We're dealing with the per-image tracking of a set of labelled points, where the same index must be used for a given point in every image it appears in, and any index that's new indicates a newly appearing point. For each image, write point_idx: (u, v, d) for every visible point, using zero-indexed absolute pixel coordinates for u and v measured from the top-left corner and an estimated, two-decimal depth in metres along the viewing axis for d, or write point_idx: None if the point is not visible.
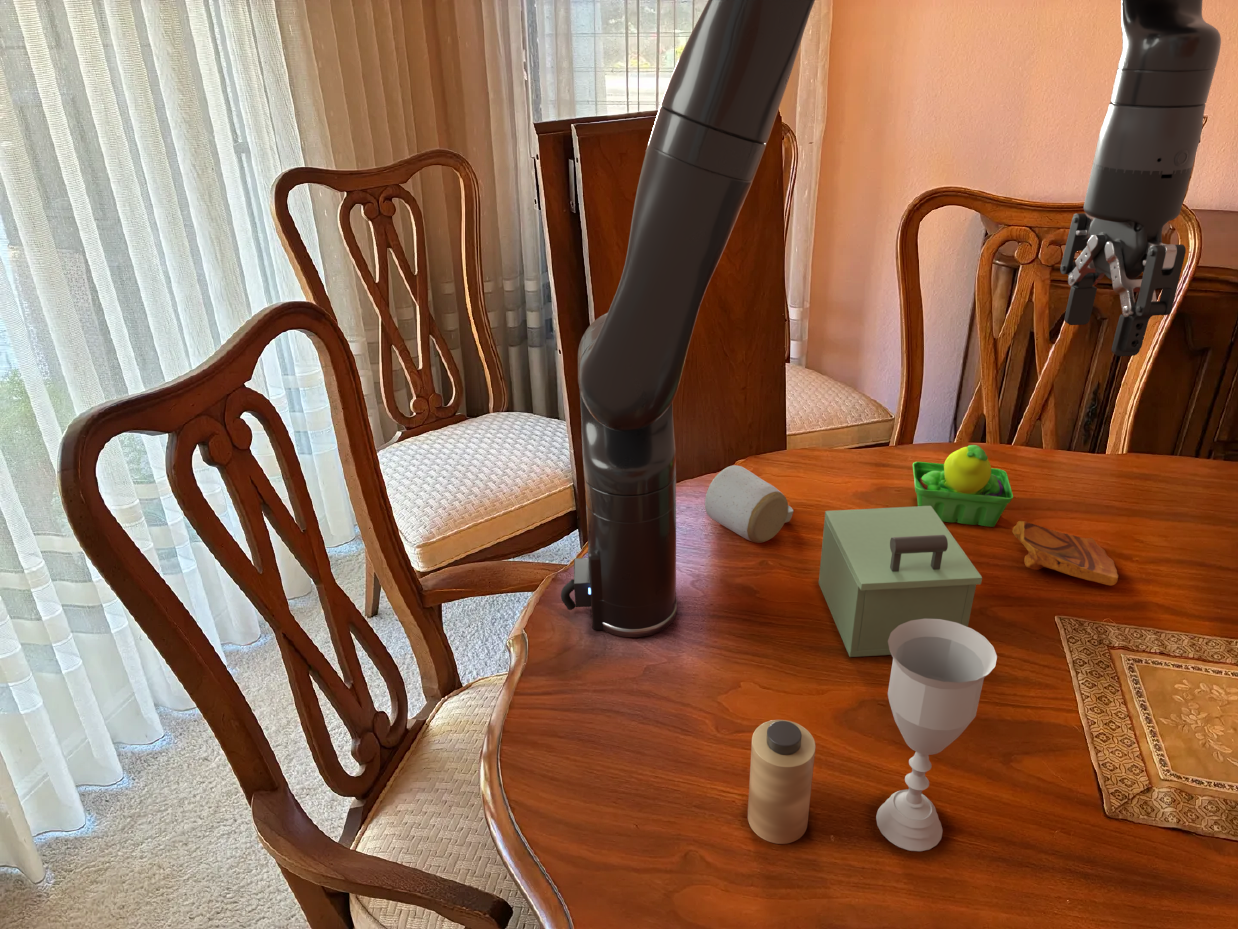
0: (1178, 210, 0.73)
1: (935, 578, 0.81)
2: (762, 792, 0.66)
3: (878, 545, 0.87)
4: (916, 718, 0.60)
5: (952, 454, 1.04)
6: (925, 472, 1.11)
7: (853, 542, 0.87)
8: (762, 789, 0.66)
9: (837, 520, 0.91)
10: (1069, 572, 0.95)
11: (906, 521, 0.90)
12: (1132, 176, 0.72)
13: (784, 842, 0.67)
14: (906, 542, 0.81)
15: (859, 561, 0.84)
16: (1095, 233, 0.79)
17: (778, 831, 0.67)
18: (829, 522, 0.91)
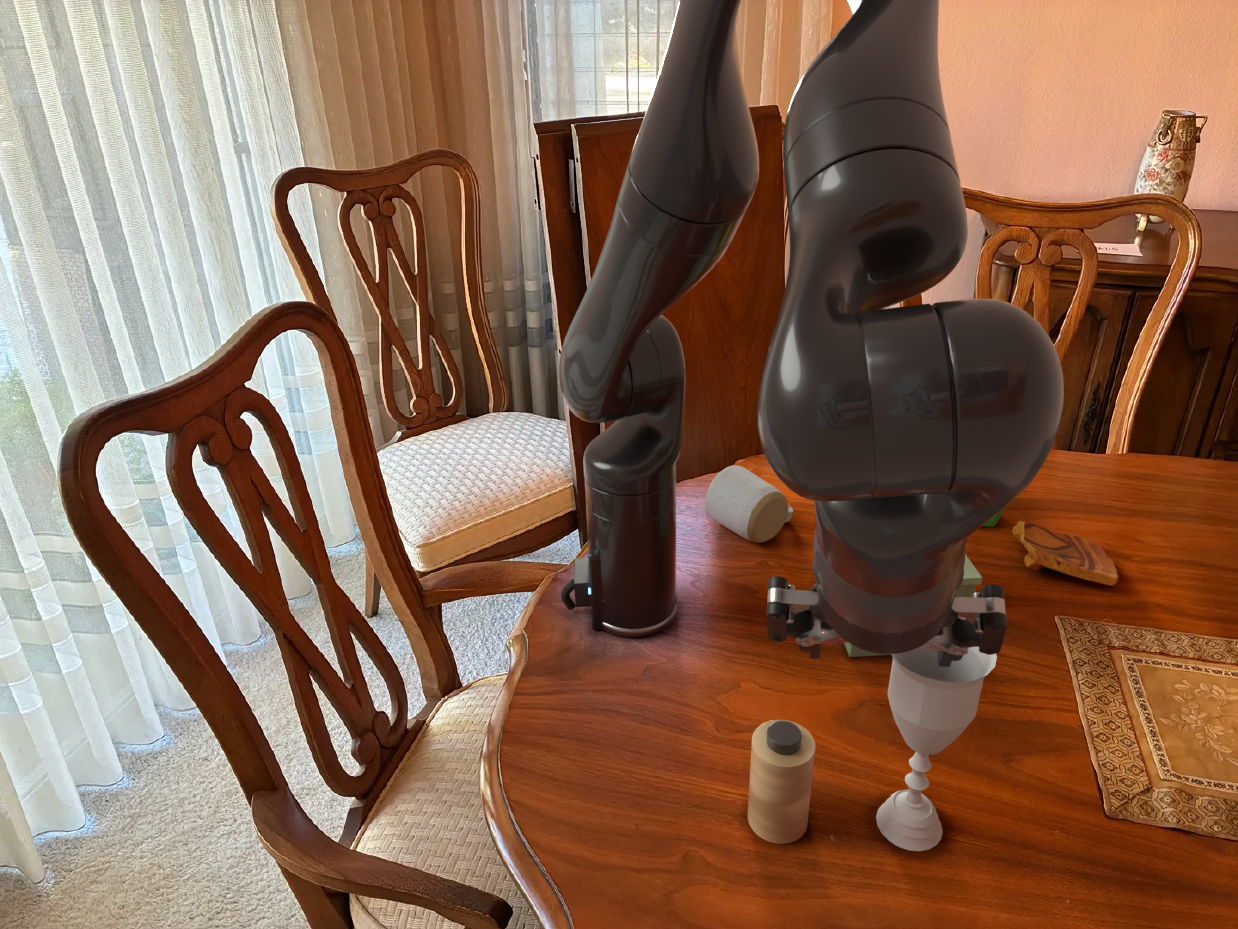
0: (830, 624, 0.49)
1: None
2: (762, 792, 0.66)
3: None
4: (916, 718, 0.60)
5: None
6: None
7: None
8: (762, 789, 0.66)
9: None
10: (1069, 572, 0.95)
11: None
12: None
13: (784, 842, 0.67)
14: None
15: None
16: None
17: (778, 831, 0.67)
18: None
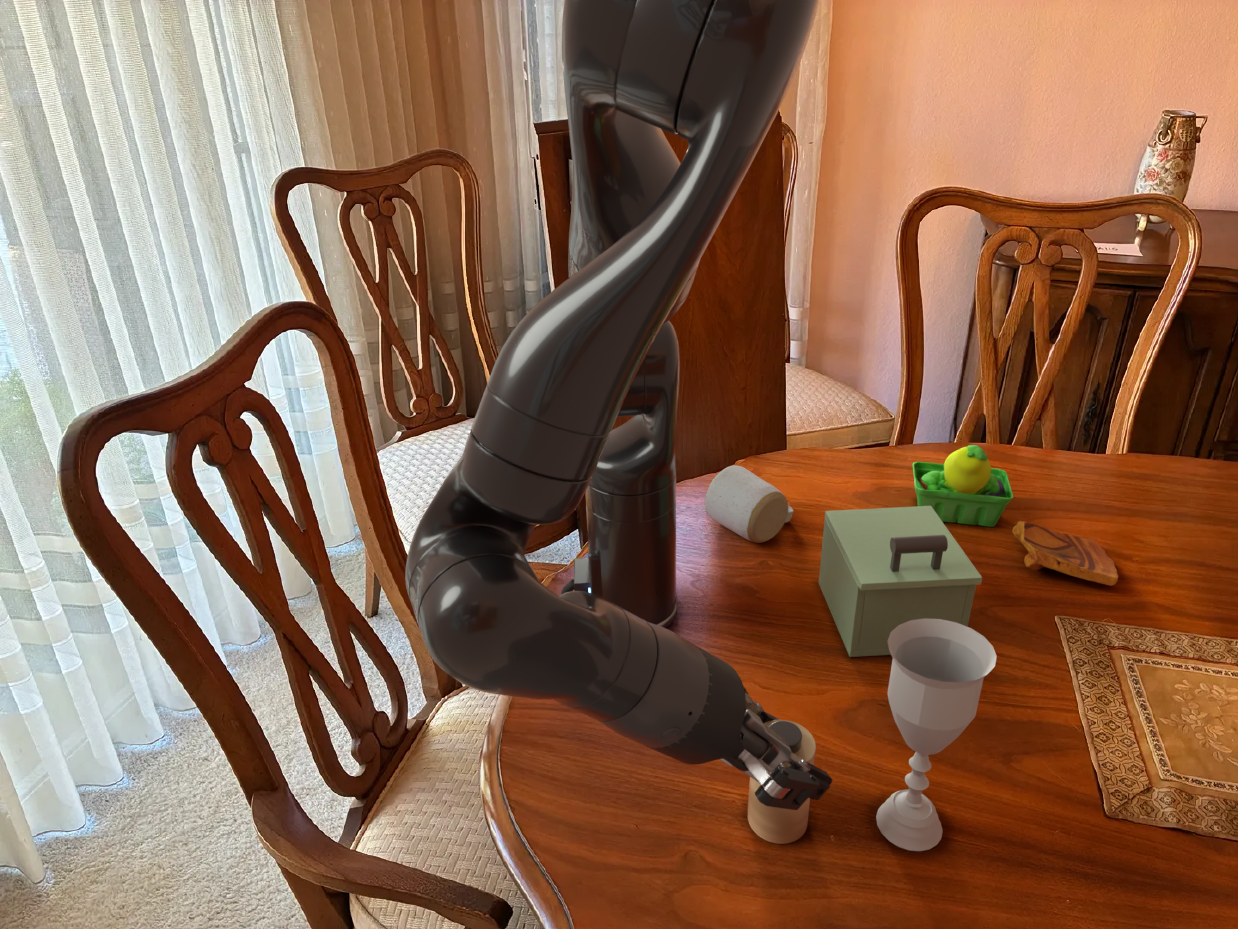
0: None
1: (935, 578, 0.81)
2: None
3: (878, 545, 0.87)
4: (916, 718, 0.60)
5: (952, 454, 1.04)
6: (925, 472, 1.11)
7: (853, 542, 0.87)
8: None
9: (837, 520, 0.91)
10: (1069, 572, 0.95)
11: (906, 521, 0.90)
12: None
13: (784, 842, 0.67)
14: (906, 542, 0.81)
15: (859, 561, 0.84)
16: (752, 735, 0.60)
17: (778, 831, 0.67)
18: (829, 522, 0.91)
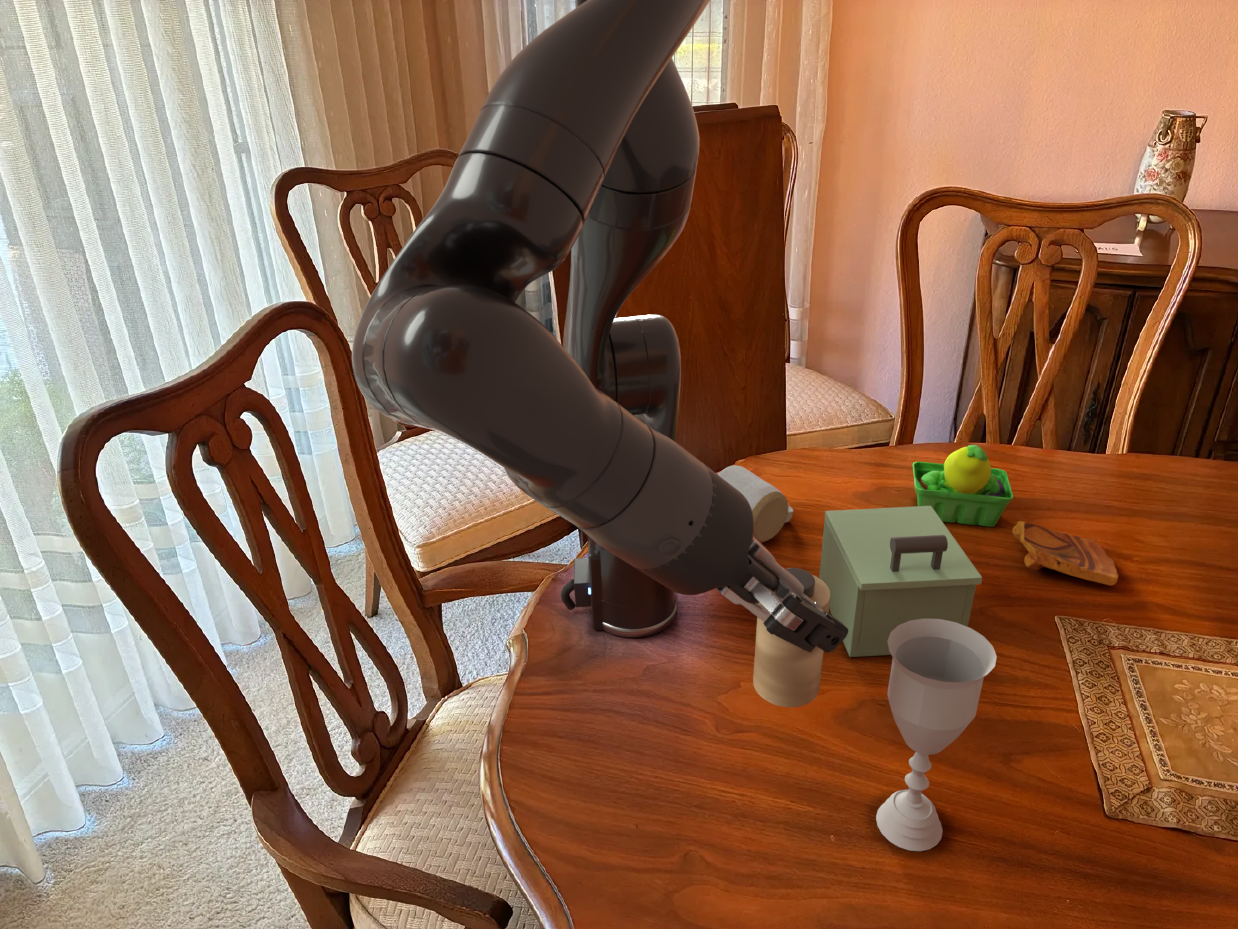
0: None
1: (935, 578, 0.81)
2: (770, 645, 0.59)
3: (878, 545, 0.87)
4: (916, 718, 0.60)
5: (952, 454, 1.04)
6: (925, 472, 1.11)
7: (853, 542, 0.87)
8: (770, 642, 0.59)
9: (837, 520, 0.91)
10: (1069, 572, 0.95)
11: (906, 521, 0.90)
12: None
13: (794, 705, 0.61)
14: (906, 542, 0.81)
15: (859, 561, 0.84)
16: (760, 565, 0.53)
17: (787, 692, 0.60)
18: (829, 522, 0.91)
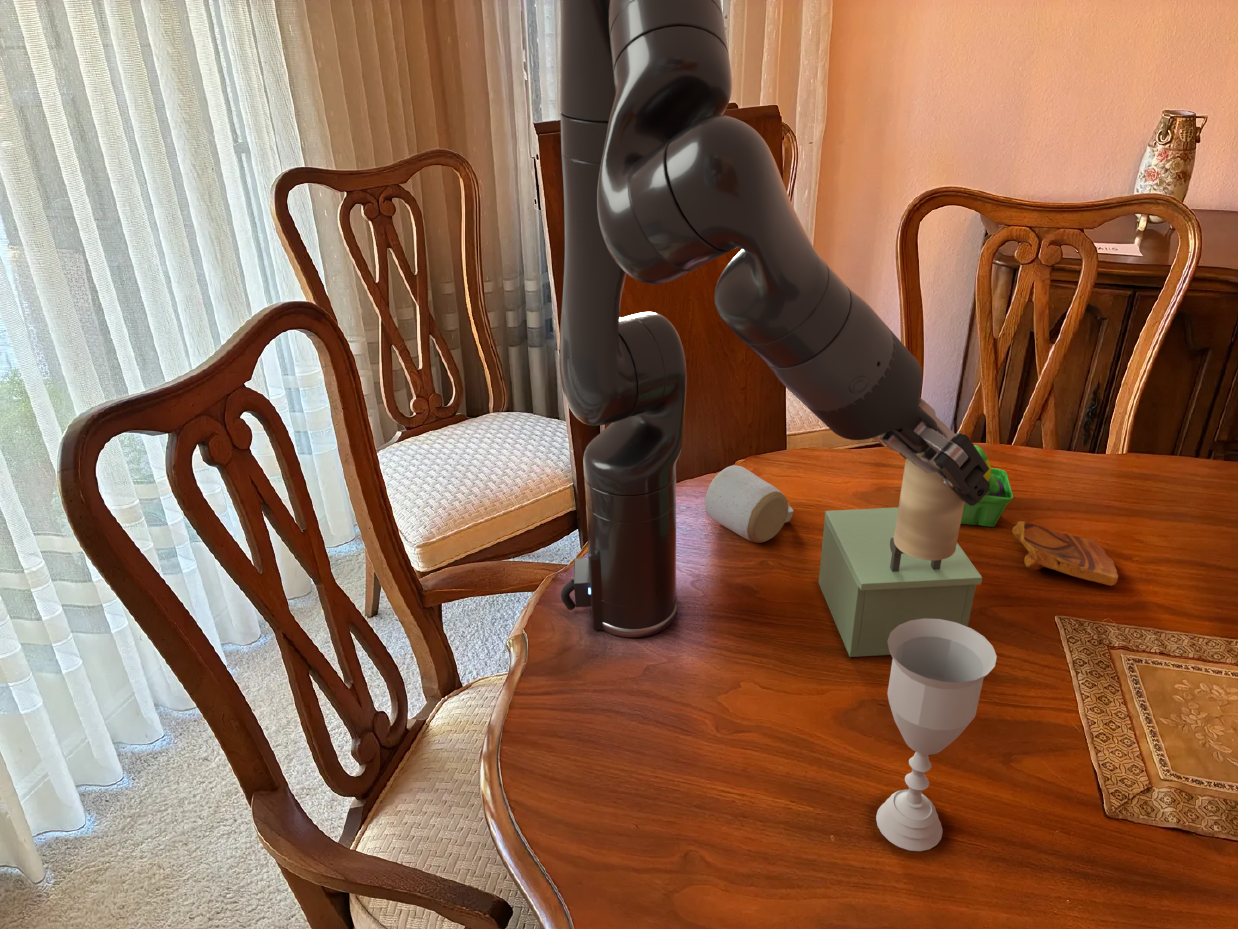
0: None
1: (935, 578, 0.81)
2: (918, 501, 0.66)
3: (878, 545, 0.87)
4: (916, 718, 0.60)
5: None
6: None
7: (853, 542, 0.87)
8: (919, 497, 0.66)
9: (837, 520, 0.91)
10: (1069, 572, 0.95)
11: None
12: None
13: (935, 558, 0.67)
14: None
15: (859, 561, 0.84)
16: None
17: (931, 545, 0.67)
18: (829, 522, 0.91)
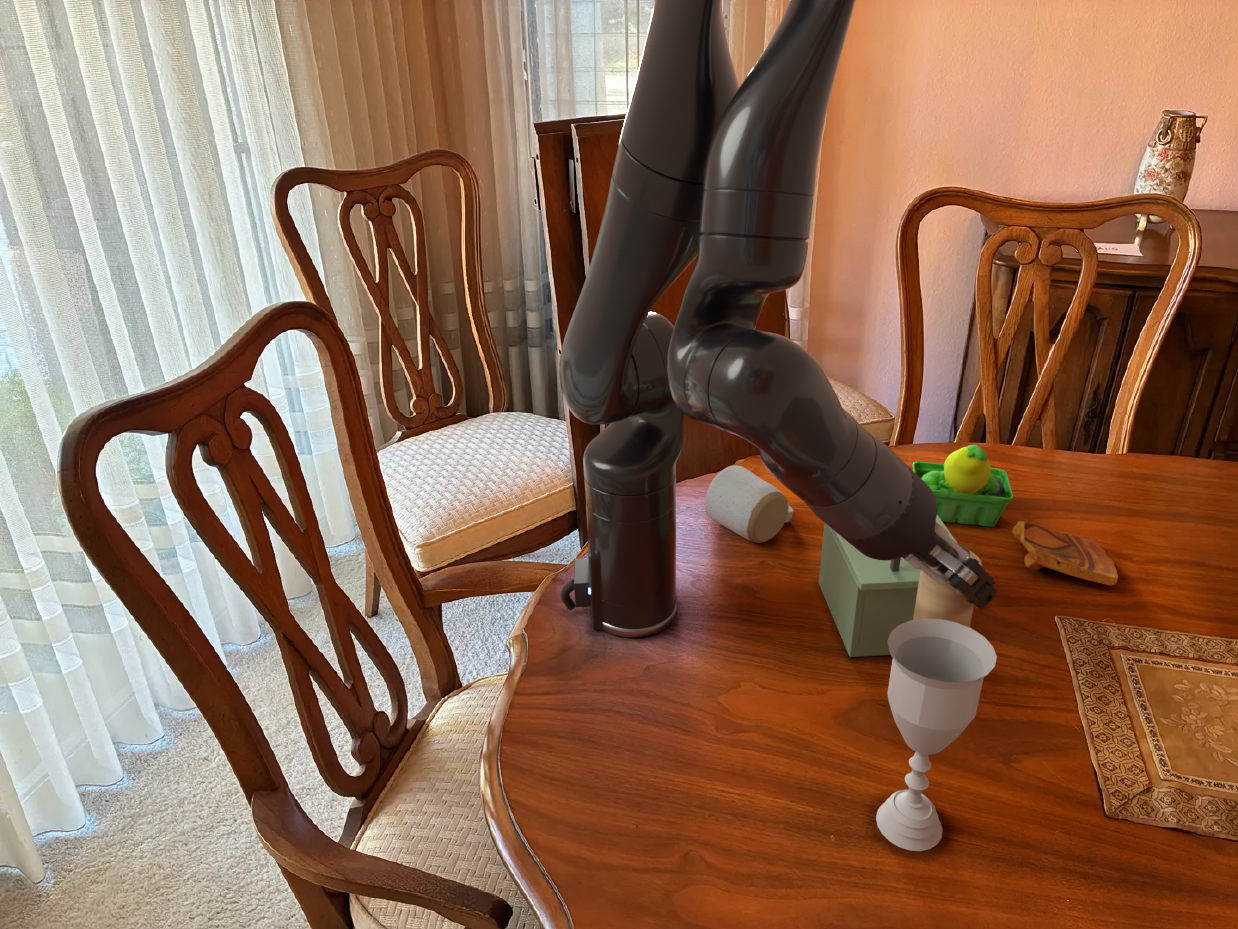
0: None
1: None
2: (933, 604, 0.74)
3: None
4: (916, 718, 0.60)
5: (952, 454, 1.04)
6: (925, 472, 1.11)
7: None
8: (934, 601, 0.74)
9: None
10: (1069, 572, 0.95)
11: None
12: None
13: None
14: None
15: (859, 561, 0.84)
16: None
17: None
18: None
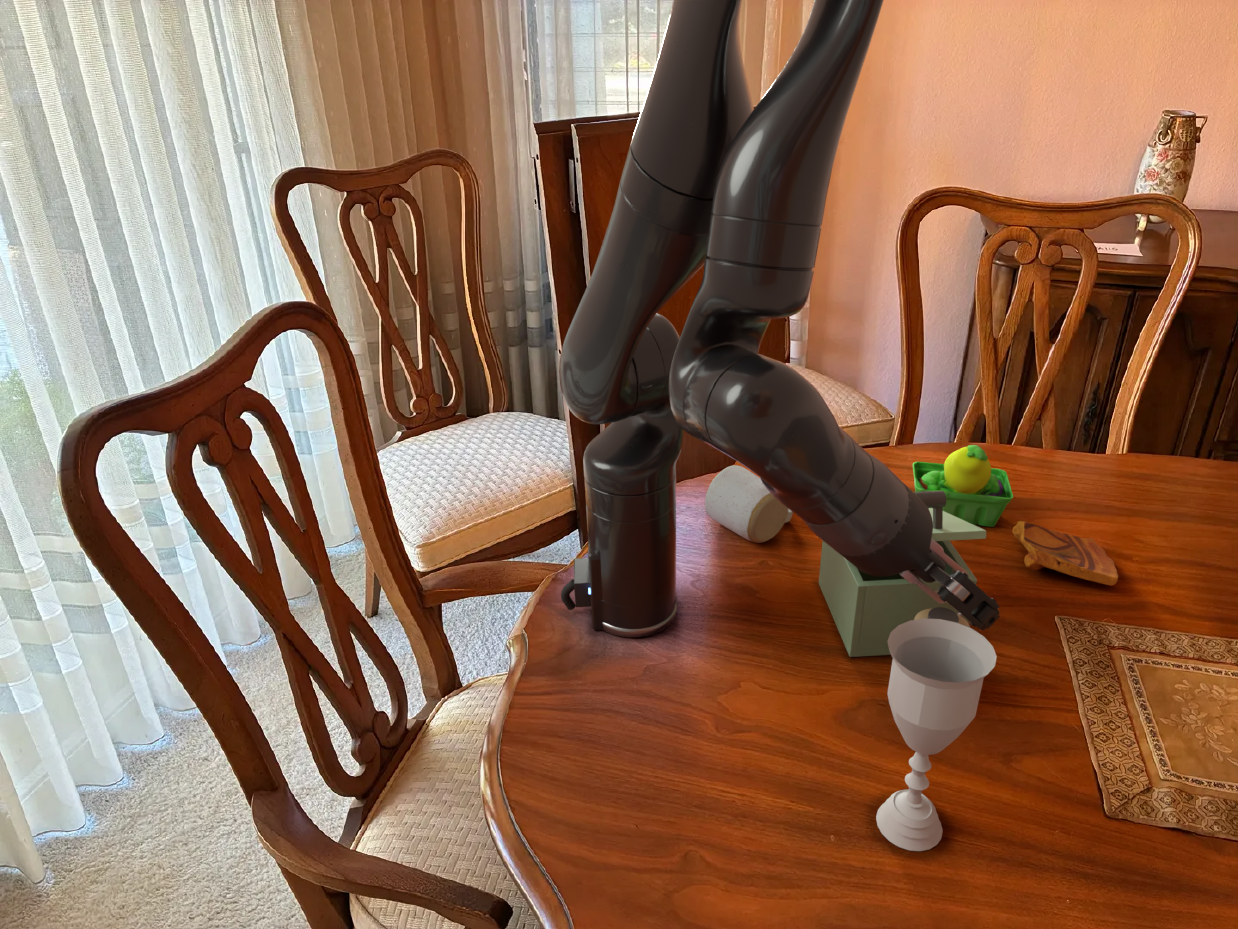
0: None
1: (938, 532, 0.80)
2: None
3: None
4: (916, 718, 0.60)
5: (952, 454, 1.04)
6: (925, 472, 1.11)
7: None
8: None
9: None
10: (1069, 572, 0.95)
11: None
12: None
13: None
14: None
15: None
16: None
17: None
18: None
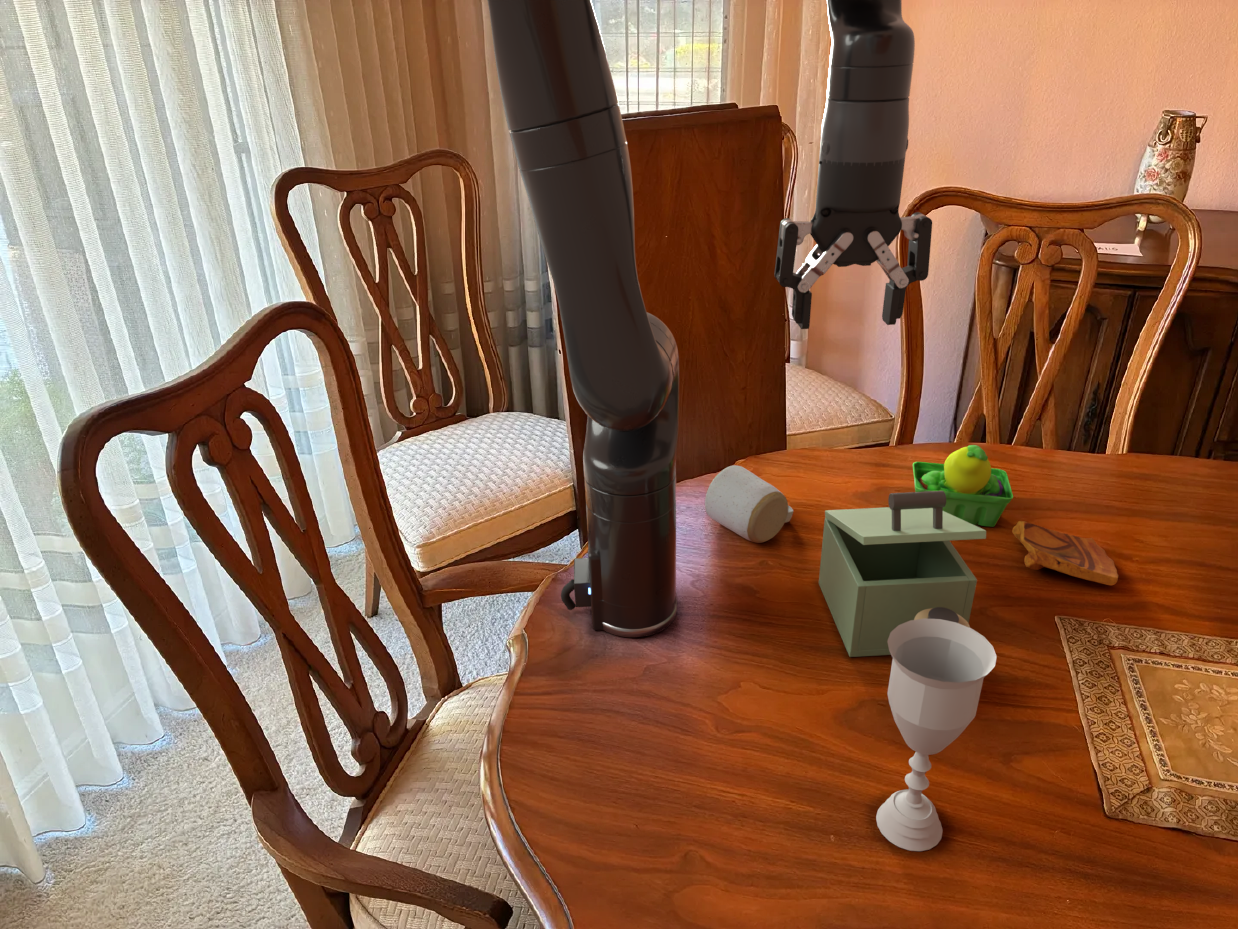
0: (833, 201, 0.77)
1: (938, 532, 0.80)
2: None
3: (879, 521, 0.86)
4: (916, 718, 0.60)
5: (952, 454, 1.04)
6: (925, 472, 1.11)
7: (854, 521, 0.87)
8: None
9: (837, 513, 0.91)
10: (1069, 572, 0.95)
11: (906, 511, 0.90)
12: None
13: None
14: (903, 495, 0.81)
15: (860, 528, 0.83)
16: None
17: None
18: (829, 516, 0.91)
